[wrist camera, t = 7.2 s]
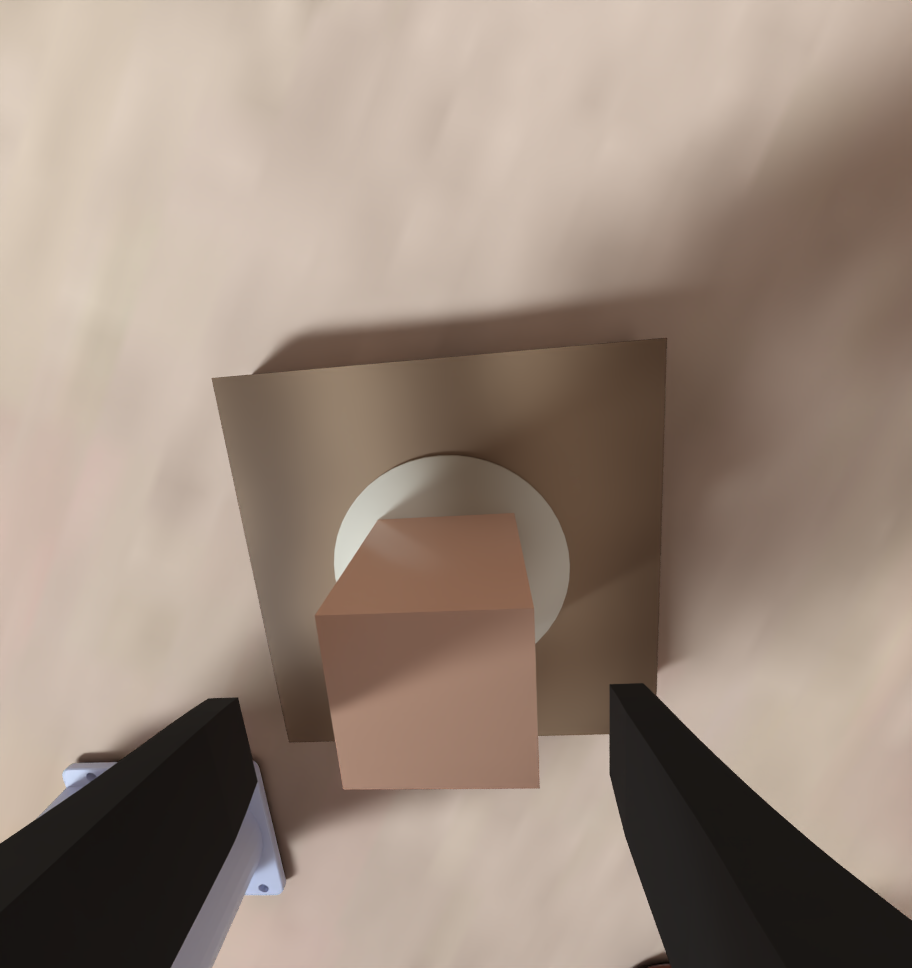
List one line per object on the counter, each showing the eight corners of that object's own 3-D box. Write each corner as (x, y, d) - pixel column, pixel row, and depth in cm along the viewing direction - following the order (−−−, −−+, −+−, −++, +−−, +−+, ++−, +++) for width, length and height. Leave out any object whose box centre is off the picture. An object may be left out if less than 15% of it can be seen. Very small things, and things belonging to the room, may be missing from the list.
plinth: (311, 697, 21) (287, 746, 18) (249, 375, 17) (207, 378, 14) (633, 686, 20) (657, 737, 17) (638, 341, 16) (669, 337, 13)
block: (392, 638, 16) (343, 789, 11) (377, 519, 15) (314, 615, 10) (518, 635, 16) (539, 788, 10) (514, 512, 15) (534, 608, 9)
